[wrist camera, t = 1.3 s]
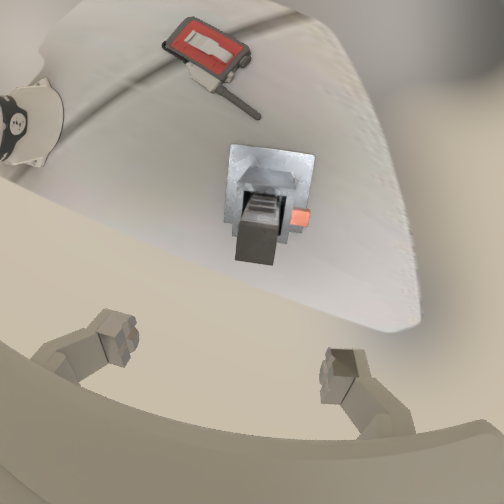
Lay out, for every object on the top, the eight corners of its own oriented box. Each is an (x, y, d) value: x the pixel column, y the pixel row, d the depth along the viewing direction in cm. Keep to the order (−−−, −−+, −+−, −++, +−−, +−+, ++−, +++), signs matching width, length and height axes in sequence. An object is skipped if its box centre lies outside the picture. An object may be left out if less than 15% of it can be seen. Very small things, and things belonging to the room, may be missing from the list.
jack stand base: (224, 220, 43) (204, 256, 31) (232, 143, 38) (210, 150, 26) (301, 231, 43) (308, 271, 31) (314, 155, 38) (329, 166, 26)
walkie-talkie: (156, 58, 33) (256, 124, 37) (144, 52, 29) (253, 123, 33) (190, 17, 30) (294, 81, 34) (181, 7, 26) (296, 75, 30)
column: (255, 198, 40) (233, 260, 22) (258, 175, 38) (237, 219, 20) (277, 201, 40) (273, 266, 22) (280, 178, 38) (280, 225, 20)
